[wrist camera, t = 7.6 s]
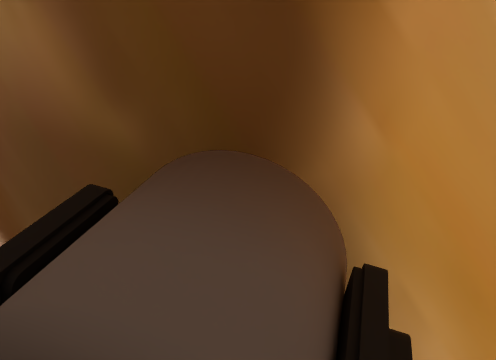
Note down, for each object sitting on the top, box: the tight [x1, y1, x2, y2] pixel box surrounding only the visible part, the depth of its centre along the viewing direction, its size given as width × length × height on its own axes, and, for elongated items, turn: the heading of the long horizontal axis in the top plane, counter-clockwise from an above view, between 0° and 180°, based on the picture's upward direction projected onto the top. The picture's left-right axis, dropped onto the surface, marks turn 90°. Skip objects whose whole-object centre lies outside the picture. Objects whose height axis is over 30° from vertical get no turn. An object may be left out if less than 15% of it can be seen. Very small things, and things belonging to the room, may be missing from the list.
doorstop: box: [0, 150, 347, 360], centre depth 10 cm, size 6×6×6 cm
